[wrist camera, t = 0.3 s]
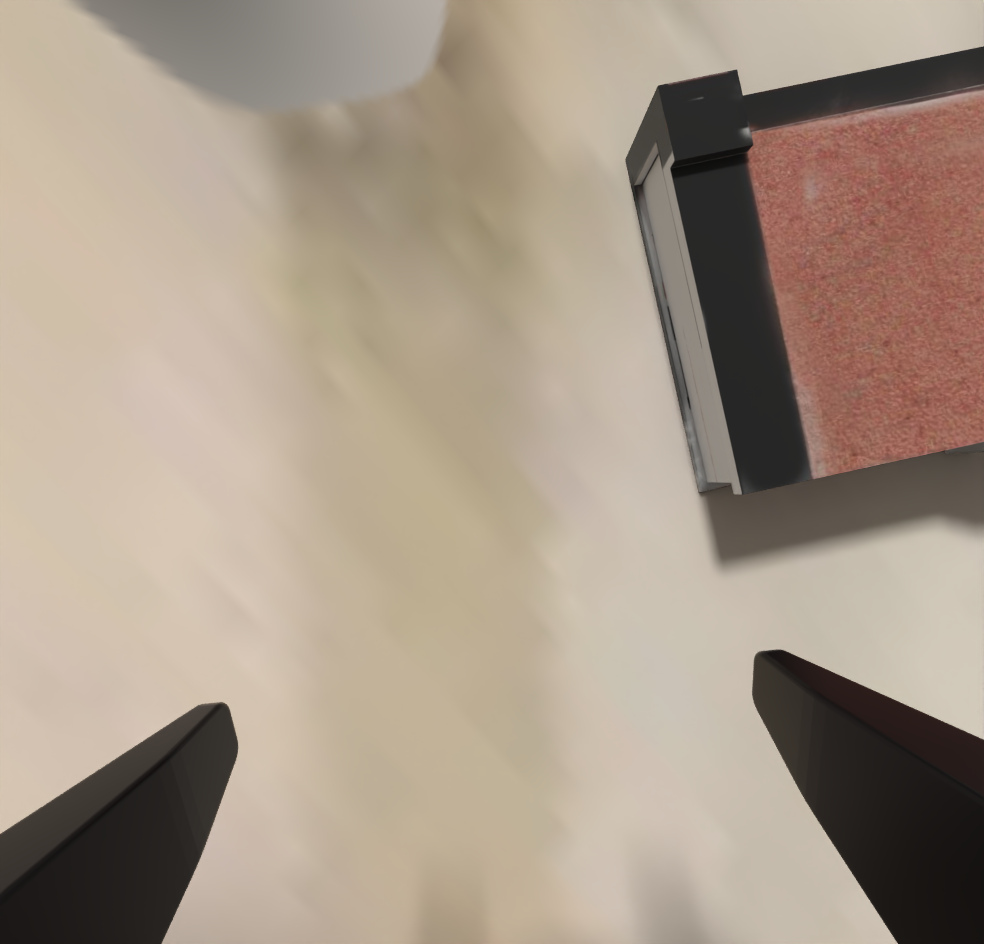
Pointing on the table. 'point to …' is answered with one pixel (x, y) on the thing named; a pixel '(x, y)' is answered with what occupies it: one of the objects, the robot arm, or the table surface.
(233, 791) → the table surface
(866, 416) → the book
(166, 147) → the table surface
